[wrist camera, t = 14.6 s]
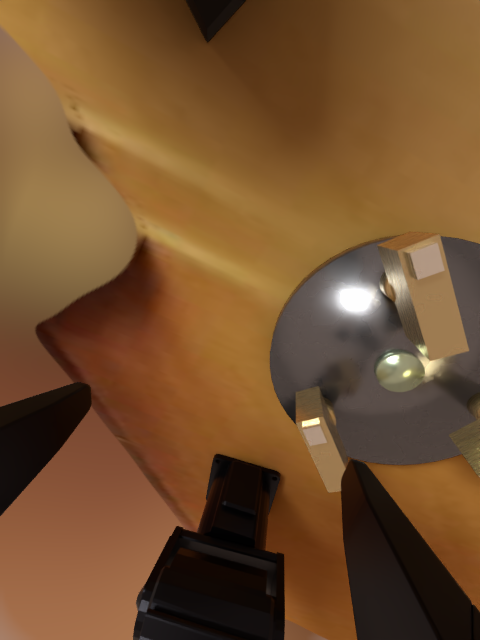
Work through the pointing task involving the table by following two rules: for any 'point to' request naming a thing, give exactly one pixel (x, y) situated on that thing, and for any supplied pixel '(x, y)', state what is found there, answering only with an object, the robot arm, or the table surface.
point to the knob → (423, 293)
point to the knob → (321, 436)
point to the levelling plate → (378, 358)
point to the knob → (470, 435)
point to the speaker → (212, 14)
